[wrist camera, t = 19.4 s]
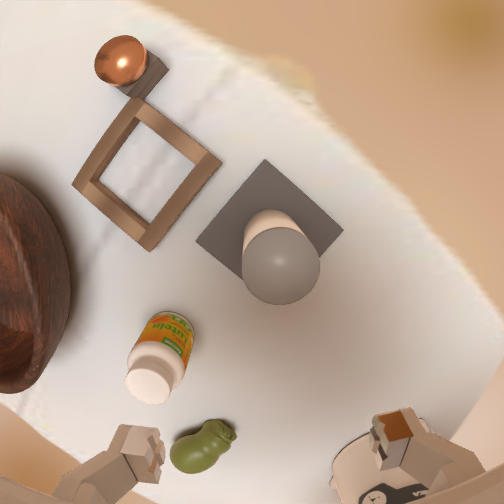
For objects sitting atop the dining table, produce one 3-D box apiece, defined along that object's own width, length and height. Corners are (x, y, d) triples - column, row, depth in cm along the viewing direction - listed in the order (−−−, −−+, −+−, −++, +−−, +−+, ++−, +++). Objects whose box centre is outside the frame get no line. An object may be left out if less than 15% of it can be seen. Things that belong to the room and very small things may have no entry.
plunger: (168, 67, 26) (153, 50, 21) (137, 102, 26) (118, 92, 22) (136, 45, 25) (118, 27, 20) (108, 80, 26) (85, 67, 21)
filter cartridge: (308, 231, 30) (335, 262, 20) (274, 271, 31) (284, 318, 21) (267, 197, 29) (276, 213, 20) (233, 239, 30) (225, 274, 20)
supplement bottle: (201, 320, 33) (185, 375, 24) (187, 359, 34) (171, 418, 25) (152, 303, 32) (121, 352, 23) (142, 343, 34) (114, 397, 24)
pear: (159, 465, 32) (216, 429, 33) (163, 440, 38) (214, 404, 38) (191, 485, 34) (248, 452, 34) (192, 460, 39) (243, 427, 39)
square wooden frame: (249, 131, 28) (249, 126, 24) (155, 247, 31) (142, 258, 27) (139, 49, 26) (126, 36, 22) (57, 162, 28) (36, 163, 24)
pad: (342, 228, 31) (343, 230, 30) (274, 302, 32) (274, 305, 32) (264, 159, 29) (265, 159, 28) (196, 240, 31) (195, 241, 30)
